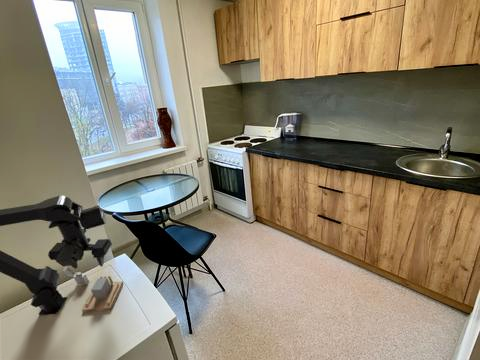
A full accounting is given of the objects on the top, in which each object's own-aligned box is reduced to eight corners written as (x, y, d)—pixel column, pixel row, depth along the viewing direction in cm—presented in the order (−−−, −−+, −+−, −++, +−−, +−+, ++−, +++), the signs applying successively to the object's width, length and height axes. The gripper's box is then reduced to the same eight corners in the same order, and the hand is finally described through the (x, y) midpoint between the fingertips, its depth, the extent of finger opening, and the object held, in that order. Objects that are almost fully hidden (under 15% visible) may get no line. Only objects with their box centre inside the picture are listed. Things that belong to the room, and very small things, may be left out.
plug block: (95, 299, 90) (90, 290, 88) (102, 287, 94) (97, 278, 92) (105, 298, 90) (100, 289, 88) (111, 286, 94) (107, 277, 92)
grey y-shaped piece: (89, 281, 99) (82, 266, 95) (86, 284, 98) (79, 270, 94) (73, 280, 100) (65, 266, 96) (70, 284, 98) (61, 269, 95)
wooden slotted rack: (82, 311, 87) (77, 302, 85) (97, 285, 97) (92, 275, 94) (111, 309, 87) (106, 299, 85) (123, 283, 97) (119, 273, 94)
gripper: (26, 252, 75) (48, 287, 82) (88, 247, 75) (105, 283, 82) (50, 228, 85) (68, 262, 92) (105, 224, 85) (118, 258, 92)
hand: (89, 266), depth 90 cm, fingers open, 9 cm apart
